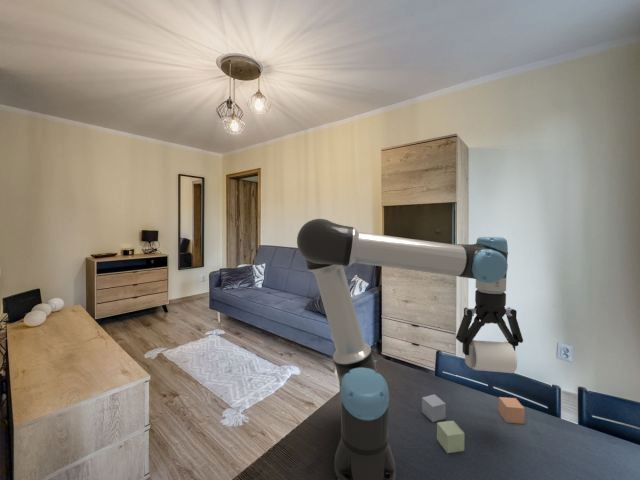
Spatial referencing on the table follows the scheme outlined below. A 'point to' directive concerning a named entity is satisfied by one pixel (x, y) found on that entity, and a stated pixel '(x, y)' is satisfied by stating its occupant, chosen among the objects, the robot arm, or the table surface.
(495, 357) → the mug
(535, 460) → the table surface
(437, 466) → the table surface
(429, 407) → the slate block
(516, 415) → the terracotta block
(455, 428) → the sage block
